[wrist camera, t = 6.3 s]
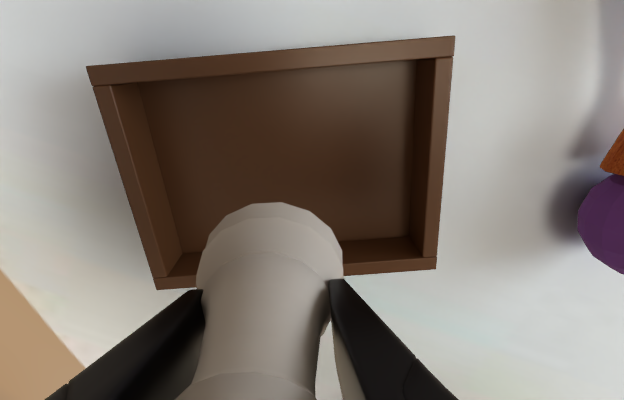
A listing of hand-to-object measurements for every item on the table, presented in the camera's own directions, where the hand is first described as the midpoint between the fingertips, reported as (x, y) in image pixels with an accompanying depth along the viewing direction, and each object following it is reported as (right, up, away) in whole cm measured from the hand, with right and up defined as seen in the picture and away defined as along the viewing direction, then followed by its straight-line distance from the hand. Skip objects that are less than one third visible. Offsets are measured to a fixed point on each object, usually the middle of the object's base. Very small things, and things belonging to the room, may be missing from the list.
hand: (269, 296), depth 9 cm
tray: (0, +5, +10) cm, 11 cm away
